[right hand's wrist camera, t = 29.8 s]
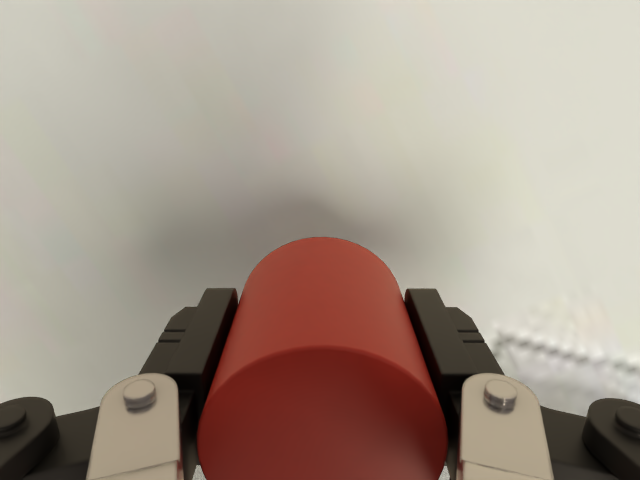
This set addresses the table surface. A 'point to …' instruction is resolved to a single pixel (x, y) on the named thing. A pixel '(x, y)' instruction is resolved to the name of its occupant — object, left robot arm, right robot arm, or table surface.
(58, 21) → the table surface
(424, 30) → the table surface
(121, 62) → the table surface
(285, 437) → the canister
